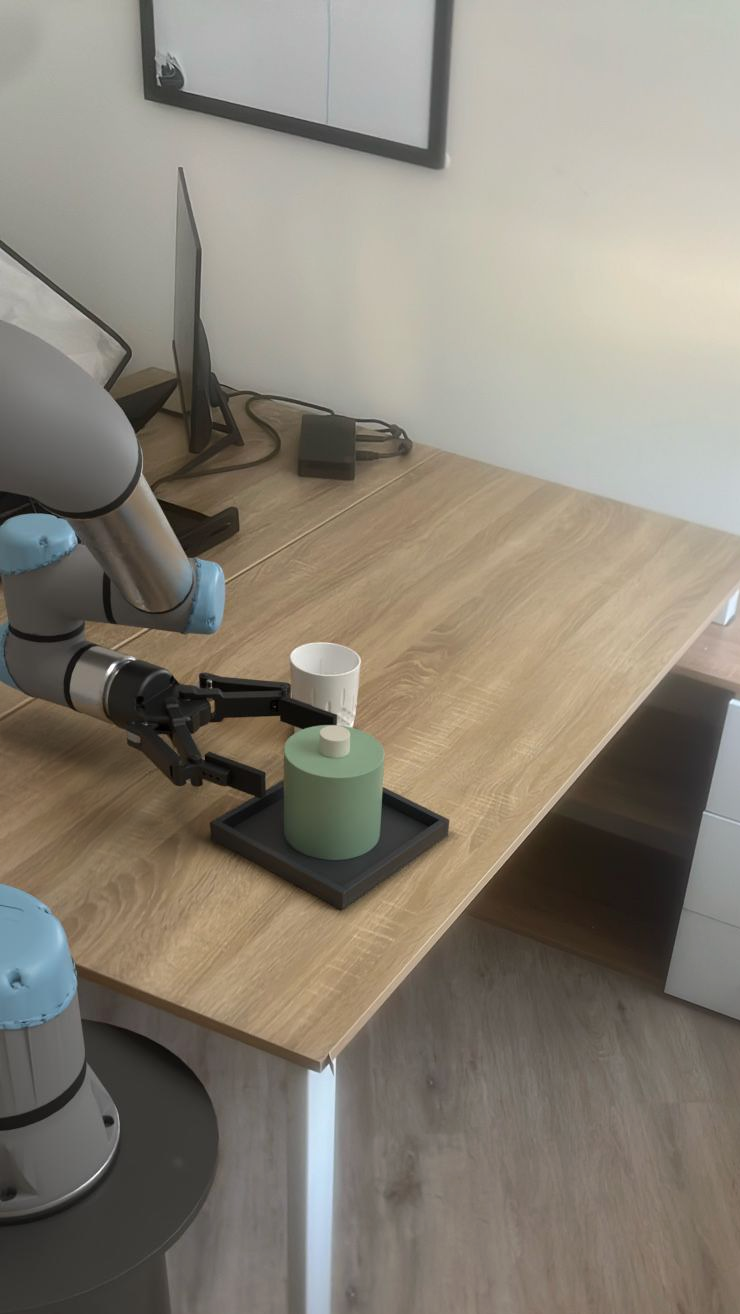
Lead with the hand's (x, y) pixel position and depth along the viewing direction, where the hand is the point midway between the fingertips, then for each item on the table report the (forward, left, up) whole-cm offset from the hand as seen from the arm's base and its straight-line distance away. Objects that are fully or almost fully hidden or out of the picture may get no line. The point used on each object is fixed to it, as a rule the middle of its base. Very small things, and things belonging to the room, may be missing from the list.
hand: (301, 755), depth 129 cm
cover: (+1, -4, -8) cm, 9 cm away
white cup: (+16, +10, -9) cm, 21 cm away
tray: (+1, -4, -9) cm, 9 cm away
